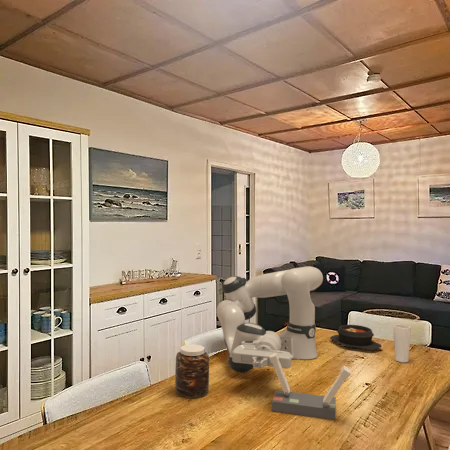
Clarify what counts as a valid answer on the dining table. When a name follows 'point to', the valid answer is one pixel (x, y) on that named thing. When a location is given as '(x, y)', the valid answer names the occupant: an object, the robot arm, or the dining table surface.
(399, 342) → the drinking glass
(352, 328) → the casserole
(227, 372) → the dining table surface
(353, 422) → the dining table surface
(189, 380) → the jar
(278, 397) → the panel
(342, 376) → the on lever
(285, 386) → the lever
